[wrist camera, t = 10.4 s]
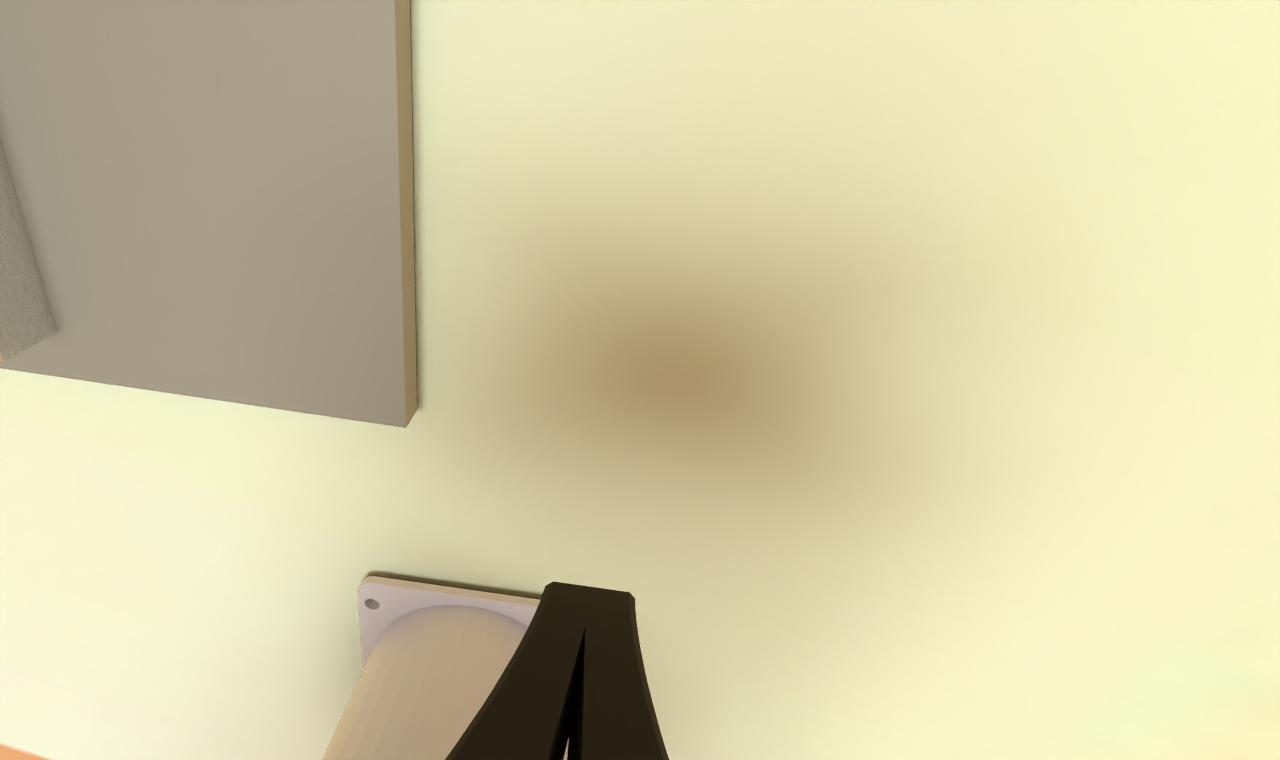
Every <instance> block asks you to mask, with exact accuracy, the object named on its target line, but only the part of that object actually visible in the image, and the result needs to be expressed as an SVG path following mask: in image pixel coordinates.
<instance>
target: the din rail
mask: <svg viewBox="0 0 1280 760" xmlns="http://www.w3.org/2000/svg"><path fill="white" fill-rule="evenodd" d="M57 332H58V330H57V327H56V324H55V320H54V317H53V313H52V310H51V307H50V303H49V300H48V296H47V293H46V290H45V286H44V283H43V280H42V276H41V273H40V269H39V266H38V263H37V259H36V256H35V252H34V249H33V246H32V242H31V239H30V235H29V232H28V229H27V225H26V222H25V219H24V215H23V212H22V208H21V205H20V202H19V198H18V195H17V191H16V188H15V185H14V181H13V178H12V174H11V171H10V168H9V164H8V161H7V158H6V154H5V151H4V147H3V144H2V141H1V137H0V362H5V361H7V360H9V359H10V358H12V357H14V356H16V355H18V354H19V353H21V352H23V351H25V350H27V349H28V348H30V347H32V346H34V345H35V344H37V343H39V342H41V341H43V340H44V339H46V338H48V337H50V336H51V335H53V334H55V333H57Z"/></svg>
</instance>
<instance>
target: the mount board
mask: <svg viewBox="0 0 1280 760" xmlns="http://www.w3.org/2000/svg"><path fill="white" fill-rule="evenodd" d="M0 137H1V141H2V144H3V147H4V151H5V154H6V158H7V161H8V164H9V168H10V171H11V174H12V178H13V181H14V185H15V188H16V191H17V195H18V198H19V202H20V205H21V208H22V212H23V215H24V219H25V222H26V225H27V229H28V232H29V235H30V239H31V242H32V246H33V249H34V252H35V256H36V259H37V263H38V266H39V269H40V273H41V276H42V280H43V283H44V286H45V290H46V293H47V296H48V300H49V303H50V307H51V310H52V313H53V317H54V320H55V324H56V327H57V330H58V332H57V333H55V334H53V335H51V336H50V337H48V338H46V339H44V340H43V341H41V342H39V343H37V344H35V345H34V346H32V347H30V348H28V349H27V350H25V351H23V352H21V353H19V354H18V355H16V356H14V357H12V358H10V359H9V360H7V361H5V362H0V368H2V369H9V370H16V371H23V372H30V373H37V374H43V375H50V376H57V377H64V378H71V379H77V380H84V381H91V382H98V383H105V384H112V385H118V386H125V387H132V388H139V389H146V390H152V391H159V392H166V393H173V394H180V395H187V396H193V397H200V398H207V399H214V400H221V401H227V402H234V403H241V404H248V405H255V406H262V407H268V408H275V409H282V410H289V411H296V412H302V413H309V414H316V415H323V416H330V417H337V418H343V419H350V420H357V421H364V422H371V423H377V424H384V425H391V426H398V427H405V428H406V427H407V425H408V424H409V422H410V420H411V419H412V417H413V415H414V414H415V412H416V411H417V370H416V311H415V251H414V192H413V133H412V74H411V15H410V0H0Z"/></svg>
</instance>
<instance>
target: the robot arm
mask: <svg viewBox="0 0 1280 760" xmlns="http://www.w3.org/2000/svg"><path fill="white" fill-rule="evenodd" d="M372 599H374V600H372ZM375 600H376V601H375ZM358 603H359V616H360V629H361V642H362V654H363V667H364V670H363V672H362V675H361V677H360V679H359V681H358V683H357V685H356V688H355V690H354V692H353V694H352V696H351V698H350V701H349V703H348V705H347V707H346V709H345V711H344V713H343V716H342V718H341V720H340V722H339V724H338V726H337V729H336V731H335V733H334V735H333V737H332V739H331V742H330V744H329V746H328V748H327V750H326V752H325V754H324V757H323V759H322V760H566V756H567V749H568V756H567V760H669V758H668V755H667V752H666V749H665V746H664V742H663V739H662V736H661V732H660V729H659V725H658V721H657V718H656V714H655V710H654V706H653V703H652V699H651V695H650V691H649V687H648V683H647V679H646V674H645V670H644V665H643V660H642V654H641V649H640V644H639V637H638V631H637V623H636V612H635V598H634V597H633V596H632V595H631V594H630V593H629V592H623V591H616V590H609V589H602V588H595V587H588V586H581V585H574V584H566V583H559V582H552V583H550V584H548V585H546V586H545V589H544V592H543V595H542V598H541V600H539V599H532V598H525V597H518V596H511V595H504V594H497V593H490V592H483V591H476V590H469V589H462V588H455V587H447V586H440V585H433V584H426V583H419V582H412V581H405V580H398V579H391V578H384V577H377V576H369V577H366V578H364V579H363V580H362V581H361V583H360V585H359V587H358Z"/></svg>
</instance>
